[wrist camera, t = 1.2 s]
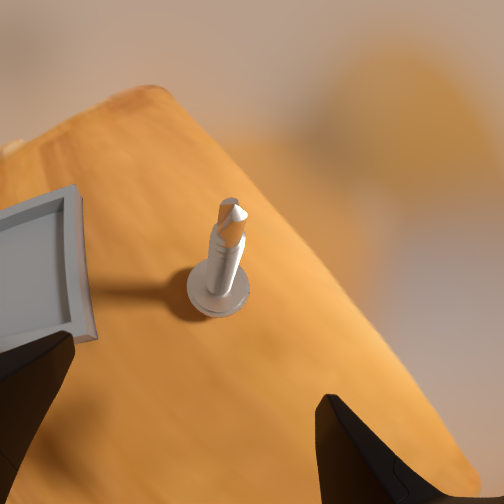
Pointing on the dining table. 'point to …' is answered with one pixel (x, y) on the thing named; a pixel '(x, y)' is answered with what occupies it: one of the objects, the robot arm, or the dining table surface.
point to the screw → (222, 266)
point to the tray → (44, 270)
